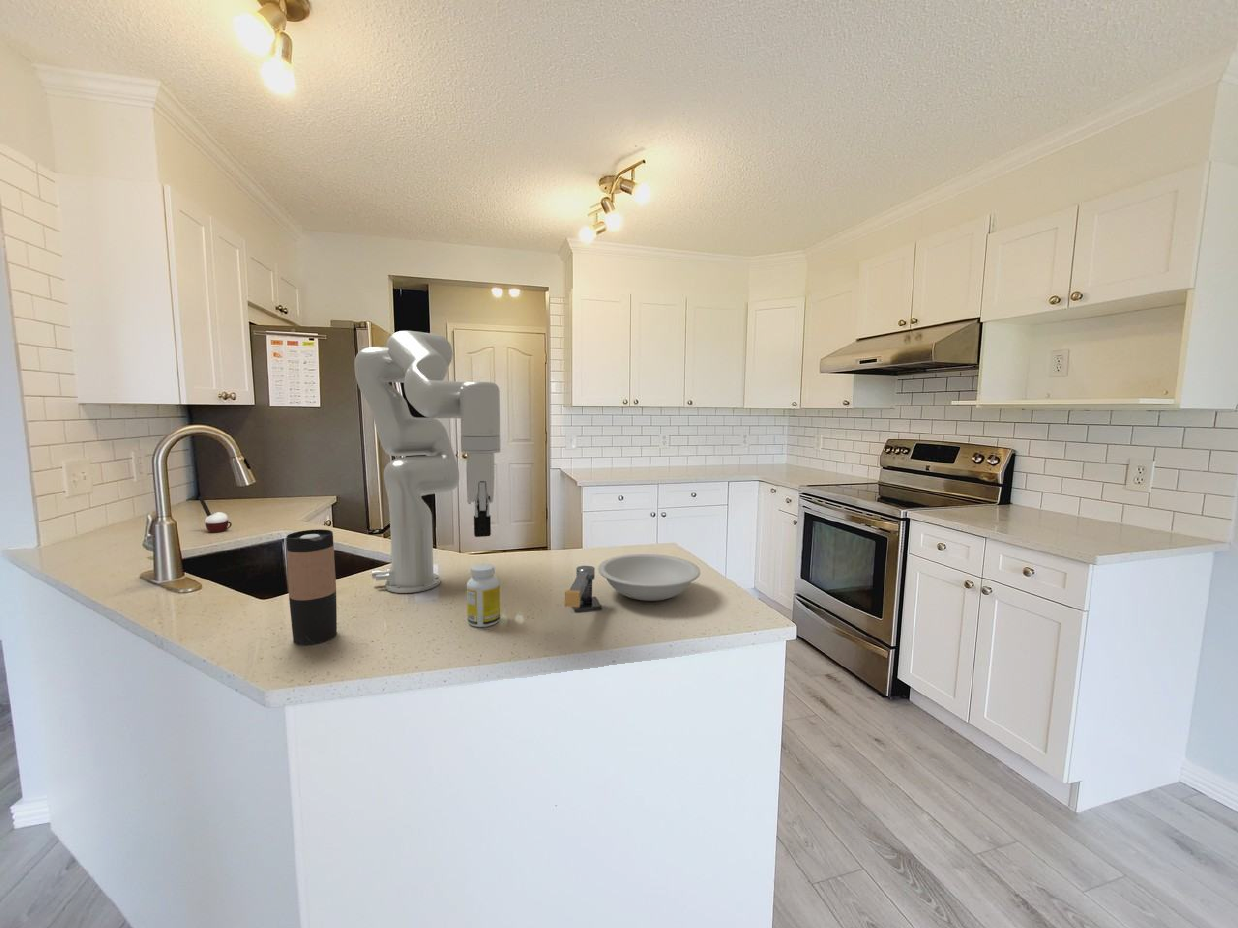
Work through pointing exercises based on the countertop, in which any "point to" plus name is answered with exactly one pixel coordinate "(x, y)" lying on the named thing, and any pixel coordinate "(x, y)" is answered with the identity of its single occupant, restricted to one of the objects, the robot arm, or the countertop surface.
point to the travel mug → (312, 586)
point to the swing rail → (579, 585)
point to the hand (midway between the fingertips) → (482, 535)
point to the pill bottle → (483, 596)
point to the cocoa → (215, 520)
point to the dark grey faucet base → (588, 600)
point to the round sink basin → (649, 575)
